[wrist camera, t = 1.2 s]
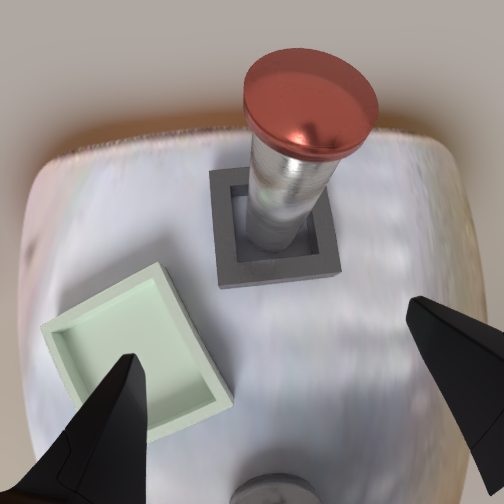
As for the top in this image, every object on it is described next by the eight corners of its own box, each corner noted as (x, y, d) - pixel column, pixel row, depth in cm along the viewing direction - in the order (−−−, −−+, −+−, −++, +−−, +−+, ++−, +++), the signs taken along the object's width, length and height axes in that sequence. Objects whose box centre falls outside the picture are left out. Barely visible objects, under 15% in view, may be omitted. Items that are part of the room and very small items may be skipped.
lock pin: (311, 219, 24) (393, 87, 10) (282, 269, 23) (349, 173, 9) (260, 189, 25) (284, 34, 10) (228, 237, 24) (215, 102, 9)
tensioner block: (333, 276, 23) (341, 271, 21) (220, 289, 23) (218, 285, 21) (315, 174, 25) (320, 162, 23) (211, 182, 25) (209, 170, 23)
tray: (234, 397, 21) (233, 405, 18) (115, 447, 19) (103, 458, 17) (166, 268, 23) (157, 261, 20) (56, 327, 21) (39, 326, 19)
